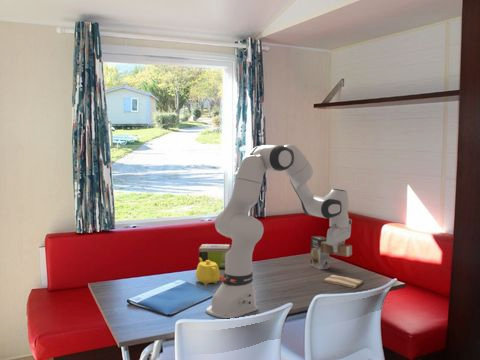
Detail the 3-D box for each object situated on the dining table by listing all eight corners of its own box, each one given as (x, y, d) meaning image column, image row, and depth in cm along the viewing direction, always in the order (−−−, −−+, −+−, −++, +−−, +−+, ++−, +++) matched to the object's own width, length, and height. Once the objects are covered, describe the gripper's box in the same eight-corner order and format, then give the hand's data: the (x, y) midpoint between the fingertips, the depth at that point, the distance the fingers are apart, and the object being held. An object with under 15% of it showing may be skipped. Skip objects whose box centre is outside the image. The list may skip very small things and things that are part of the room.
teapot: (189, 278, 237) (189, 257, 236) (209, 275, 242) (209, 254, 241) (205, 288, 221) (205, 266, 220) (226, 285, 227) (226, 263, 226)
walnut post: (320, 252, 232) (347, 256, 224) (320, 243, 231) (348, 247, 223) (324, 250, 235) (351, 254, 227) (324, 241, 235) (351, 245, 227)
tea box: (230, 271, 249) (230, 243, 247) (228, 277, 239) (228, 248, 237) (202, 270, 250) (202, 243, 249) (198, 276, 240) (198, 247, 239)
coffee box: (309, 265, 260) (310, 236, 258) (319, 264, 262) (320, 235, 261) (319, 269, 251) (320, 240, 250) (329, 268, 254) (330, 238, 253)
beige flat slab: (354, 287, 222) (354, 285, 222) (323, 281, 232) (323, 279, 232) (362, 282, 230) (362, 280, 230) (332, 276, 240) (332, 274, 240)
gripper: (335, 227, 217) (335, 256, 218) (353, 219, 233) (353, 247, 235) (323, 225, 221) (323, 254, 222) (341, 218, 237) (341, 245, 239)
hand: (338, 250), depth 229 cm, fingers closed on walnut post, 4 cm apart
